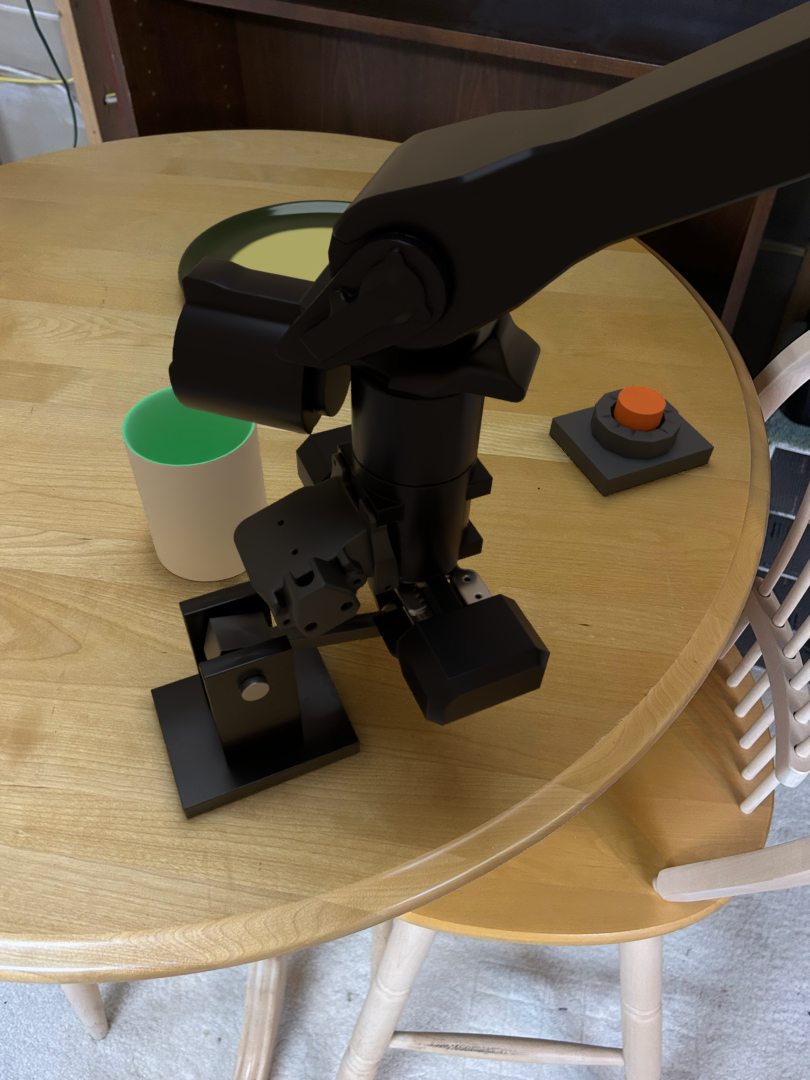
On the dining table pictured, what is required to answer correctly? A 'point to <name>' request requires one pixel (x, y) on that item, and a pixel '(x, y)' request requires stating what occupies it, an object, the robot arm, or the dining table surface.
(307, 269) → the plate
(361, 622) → the lever
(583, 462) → the button box
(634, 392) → the button
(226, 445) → the mug
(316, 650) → the switch
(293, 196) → the dining table surface
